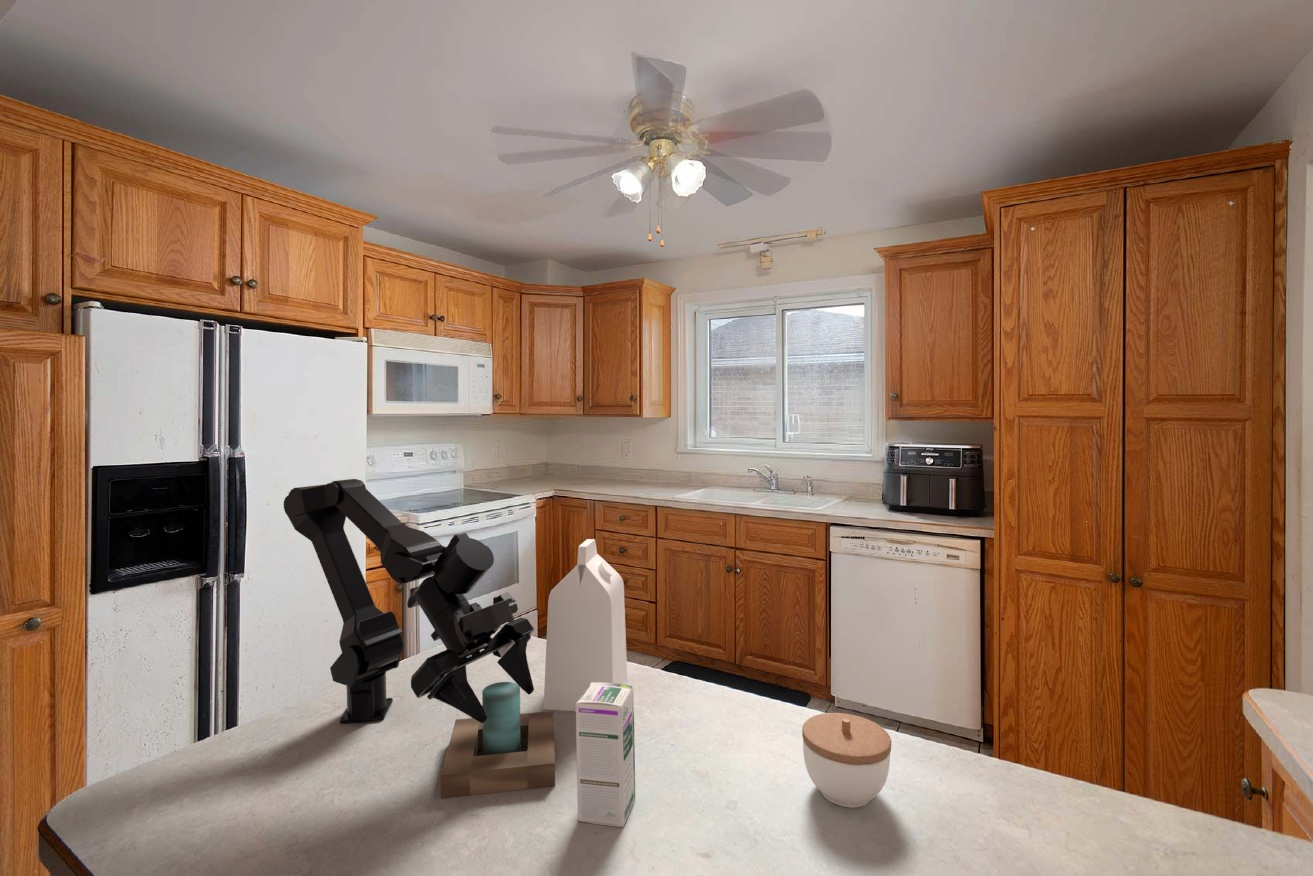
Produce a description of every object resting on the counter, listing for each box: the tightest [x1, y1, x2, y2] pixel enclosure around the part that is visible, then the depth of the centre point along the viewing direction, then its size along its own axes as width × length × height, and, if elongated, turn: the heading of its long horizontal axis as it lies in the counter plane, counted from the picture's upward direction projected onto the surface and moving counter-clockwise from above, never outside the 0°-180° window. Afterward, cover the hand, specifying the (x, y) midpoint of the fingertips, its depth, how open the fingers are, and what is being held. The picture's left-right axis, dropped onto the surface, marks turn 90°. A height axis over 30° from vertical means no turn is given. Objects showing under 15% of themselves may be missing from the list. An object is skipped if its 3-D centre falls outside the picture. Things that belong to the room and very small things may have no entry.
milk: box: [543, 538, 628, 712], centre depth 105 cm, size 12×12×26 cm
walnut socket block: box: [440, 710, 556, 799], centre depth 85 cm, size 14×14×3 cm
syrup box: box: [575, 682, 636, 828], centre depth 75 cm, size 6×6×14 cm
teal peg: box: [481, 681, 522, 755], centre depth 85 cm, size 5×5×10 cm
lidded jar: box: [801, 712, 892, 809], centre depth 78 cm, size 11×11×9 cm
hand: (509, 706), depth 85 cm, fingers open, 9 cm apart
